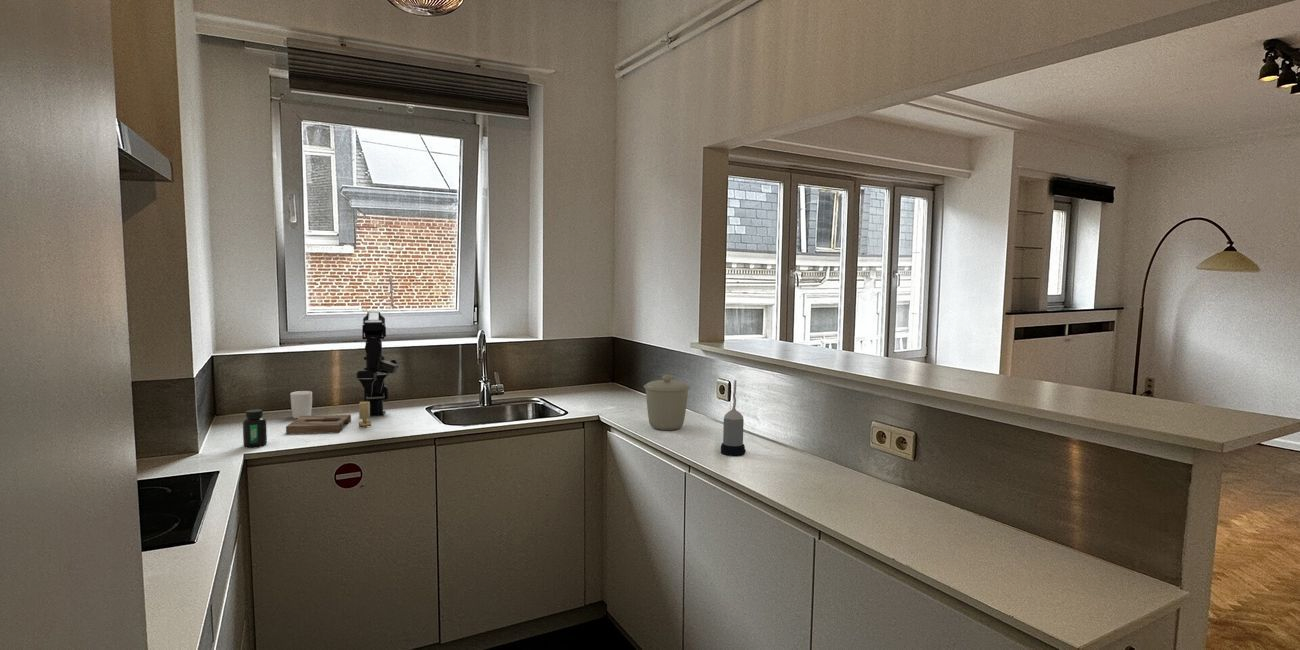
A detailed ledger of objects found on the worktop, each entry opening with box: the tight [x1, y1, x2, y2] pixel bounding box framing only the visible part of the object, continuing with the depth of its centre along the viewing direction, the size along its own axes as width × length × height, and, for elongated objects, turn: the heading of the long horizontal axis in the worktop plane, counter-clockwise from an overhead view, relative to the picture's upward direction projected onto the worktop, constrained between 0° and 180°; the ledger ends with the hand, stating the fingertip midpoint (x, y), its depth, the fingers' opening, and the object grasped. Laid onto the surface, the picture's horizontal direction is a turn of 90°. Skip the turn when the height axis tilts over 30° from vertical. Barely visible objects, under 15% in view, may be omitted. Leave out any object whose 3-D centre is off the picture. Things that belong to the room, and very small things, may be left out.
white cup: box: [289, 390, 313, 419], centre depth 265 cm, size 8×8×10 cm
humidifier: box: [720, 379, 747, 457], centre depth 221 cm, size 8×8×25 cm
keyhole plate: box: [285, 413, 352, 435], centre depth 249 cm, size 18×18×3 cm
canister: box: [643, 373, 691, 431], centre depth 257 cm, size 18×18×21 cm
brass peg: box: [358, 401, 372, 428], centre depth 252 cm, size 4×4×9 cm
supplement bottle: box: [242, 408, 268, 449], centre depth 222 cm, size 7×7×12 cm
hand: (374, 394), depth 249 cm, fingers open, 9 cm apart
